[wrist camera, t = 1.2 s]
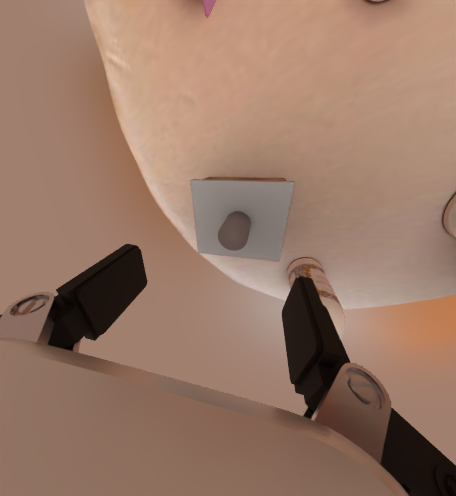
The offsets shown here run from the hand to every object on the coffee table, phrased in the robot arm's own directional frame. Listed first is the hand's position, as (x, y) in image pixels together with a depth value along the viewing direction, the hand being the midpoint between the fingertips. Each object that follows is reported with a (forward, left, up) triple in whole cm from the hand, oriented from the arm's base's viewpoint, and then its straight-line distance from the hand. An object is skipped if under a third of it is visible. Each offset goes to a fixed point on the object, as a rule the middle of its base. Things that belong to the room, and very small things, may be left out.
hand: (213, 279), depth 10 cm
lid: (+1, +3, -18) cm, 18 cm away
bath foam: (-13, +16, -25) cm, 32 cm away
